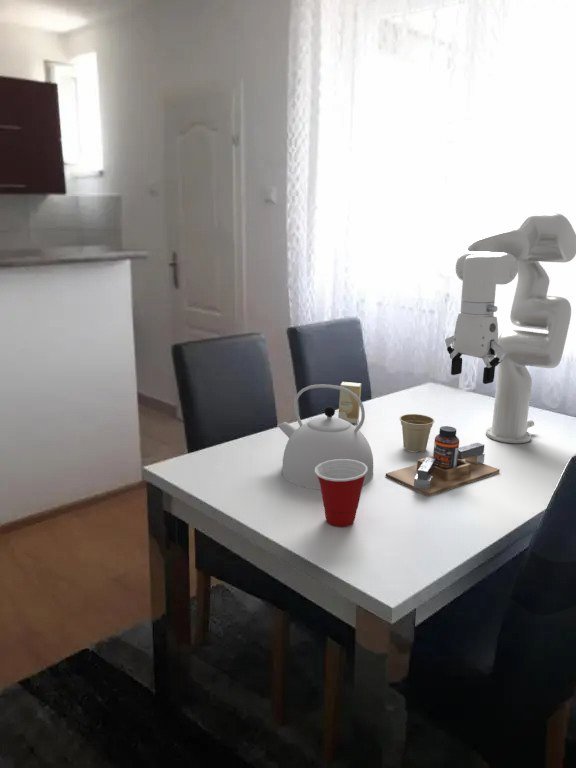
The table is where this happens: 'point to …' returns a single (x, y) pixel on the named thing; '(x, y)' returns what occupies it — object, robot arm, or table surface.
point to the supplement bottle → (446, 448)
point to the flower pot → (416, 431)
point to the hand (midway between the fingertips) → (471, 378)
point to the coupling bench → (443, 476)
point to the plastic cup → (341, 489)
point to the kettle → (323, 444)
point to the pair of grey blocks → (468, 453)
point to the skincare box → (349, 402)
